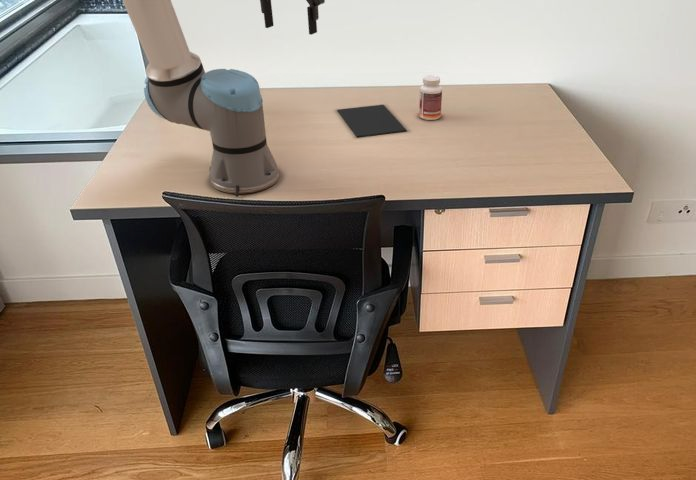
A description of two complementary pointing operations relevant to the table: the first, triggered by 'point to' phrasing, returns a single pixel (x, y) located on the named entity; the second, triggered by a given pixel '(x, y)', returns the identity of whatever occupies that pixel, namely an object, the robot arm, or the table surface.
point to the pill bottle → (430, 98)
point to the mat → (371, 120)
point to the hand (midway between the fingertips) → (291, 30)
